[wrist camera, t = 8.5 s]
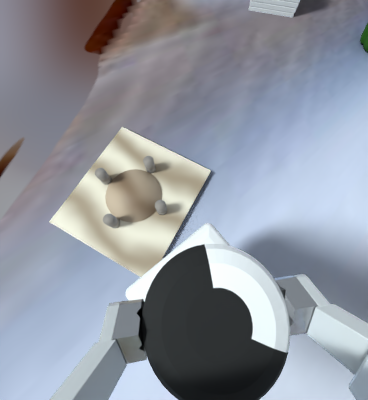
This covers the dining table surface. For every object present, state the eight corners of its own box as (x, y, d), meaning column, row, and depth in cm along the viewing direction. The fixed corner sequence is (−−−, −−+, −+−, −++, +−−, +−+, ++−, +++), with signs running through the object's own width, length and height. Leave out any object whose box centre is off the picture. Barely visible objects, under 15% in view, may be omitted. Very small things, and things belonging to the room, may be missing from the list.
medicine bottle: (191, 351, 17) (211, 518, 6) (142, 282, 19) (85, 309, 8) (249, 293, 19) (356, 338, 7) (199, 234, 20) (224, 196, 9)
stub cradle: (123, 130, 37) (117, 115, 34) (210, 173, 35) (213, 162, 31) (53, 223, 32) (35, 217, 28) (149, 281, 30) (145, 283, 26)
